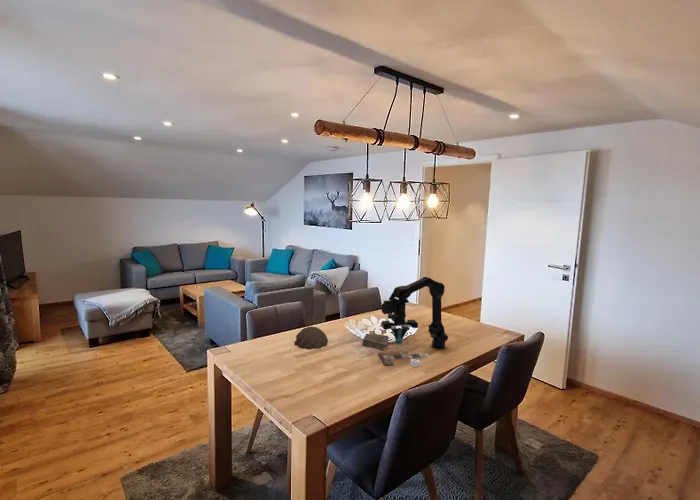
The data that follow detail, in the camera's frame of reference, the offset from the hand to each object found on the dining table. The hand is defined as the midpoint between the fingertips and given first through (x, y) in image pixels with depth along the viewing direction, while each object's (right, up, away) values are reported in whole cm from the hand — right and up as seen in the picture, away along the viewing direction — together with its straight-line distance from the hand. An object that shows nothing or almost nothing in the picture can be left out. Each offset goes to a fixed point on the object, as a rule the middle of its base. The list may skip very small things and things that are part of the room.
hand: (398, 339), depth 199 cm
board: (+5, -11, +2) cm, 12 cm away
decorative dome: (-49, -7, +22) cm, 54 cm away
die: (+7, -12, -8) cm, 16 cm away
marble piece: (-11, -8, +22) cm, 26 cm away
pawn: (0, -2, 0) cm, 2 cm away
